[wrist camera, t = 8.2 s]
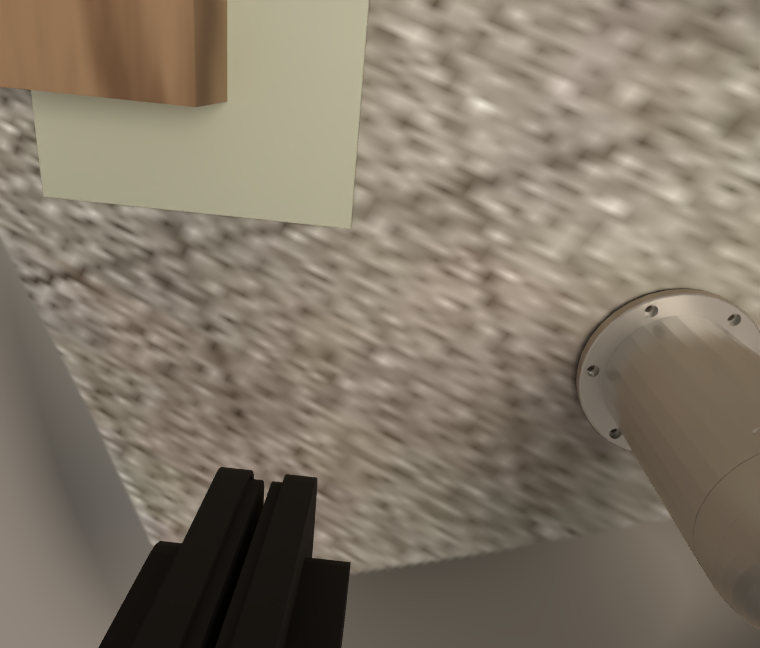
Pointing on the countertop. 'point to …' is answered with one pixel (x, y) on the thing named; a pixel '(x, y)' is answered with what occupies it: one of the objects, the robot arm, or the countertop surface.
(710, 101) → the countertop surface
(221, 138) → the mat
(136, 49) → the copper block
